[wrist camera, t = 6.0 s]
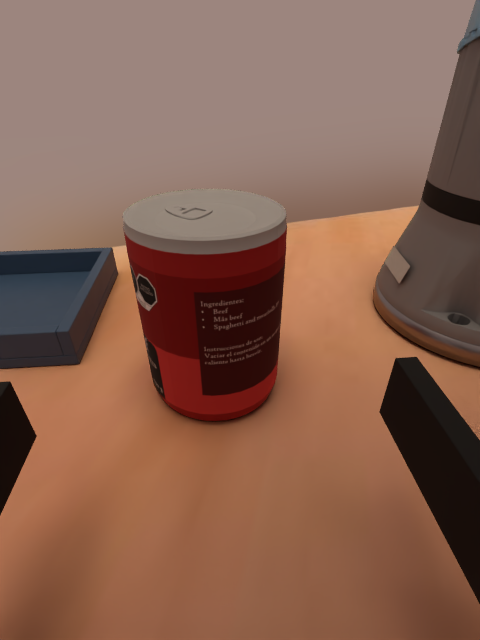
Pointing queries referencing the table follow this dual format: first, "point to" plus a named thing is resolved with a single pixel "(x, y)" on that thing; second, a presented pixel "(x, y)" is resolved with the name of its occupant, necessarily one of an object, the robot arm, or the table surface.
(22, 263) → the tray
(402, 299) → the robot arm
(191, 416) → the canned food
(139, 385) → the table surface
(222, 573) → the table surface
